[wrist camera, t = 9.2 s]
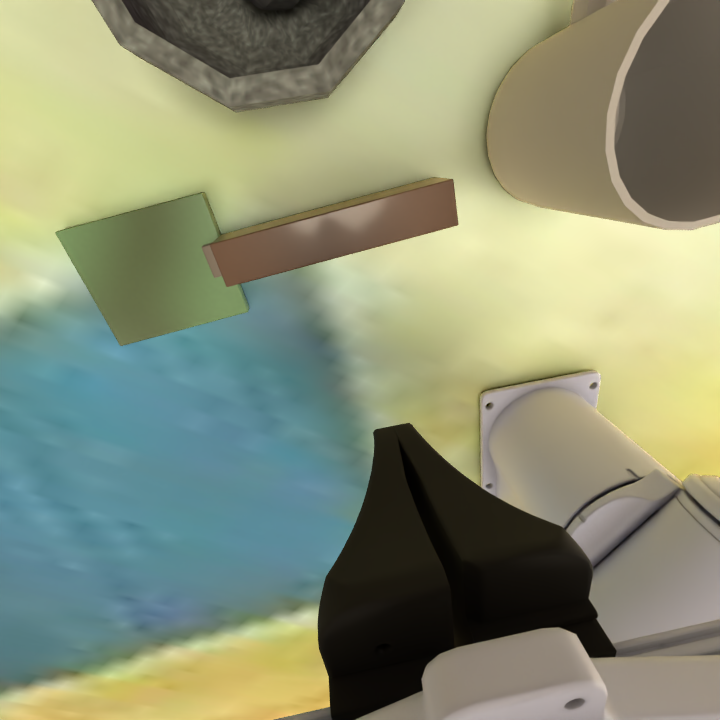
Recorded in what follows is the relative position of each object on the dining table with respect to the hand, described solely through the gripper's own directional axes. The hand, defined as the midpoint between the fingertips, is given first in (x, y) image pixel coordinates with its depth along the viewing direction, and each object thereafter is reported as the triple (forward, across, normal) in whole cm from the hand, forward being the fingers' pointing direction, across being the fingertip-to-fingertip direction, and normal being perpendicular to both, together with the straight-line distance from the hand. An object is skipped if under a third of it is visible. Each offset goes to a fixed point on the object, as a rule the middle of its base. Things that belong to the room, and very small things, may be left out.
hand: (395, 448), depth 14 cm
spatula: (+10, +4, -6) cm, 12 cm away
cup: (+10, -11, -11) cm, 18 cm away
